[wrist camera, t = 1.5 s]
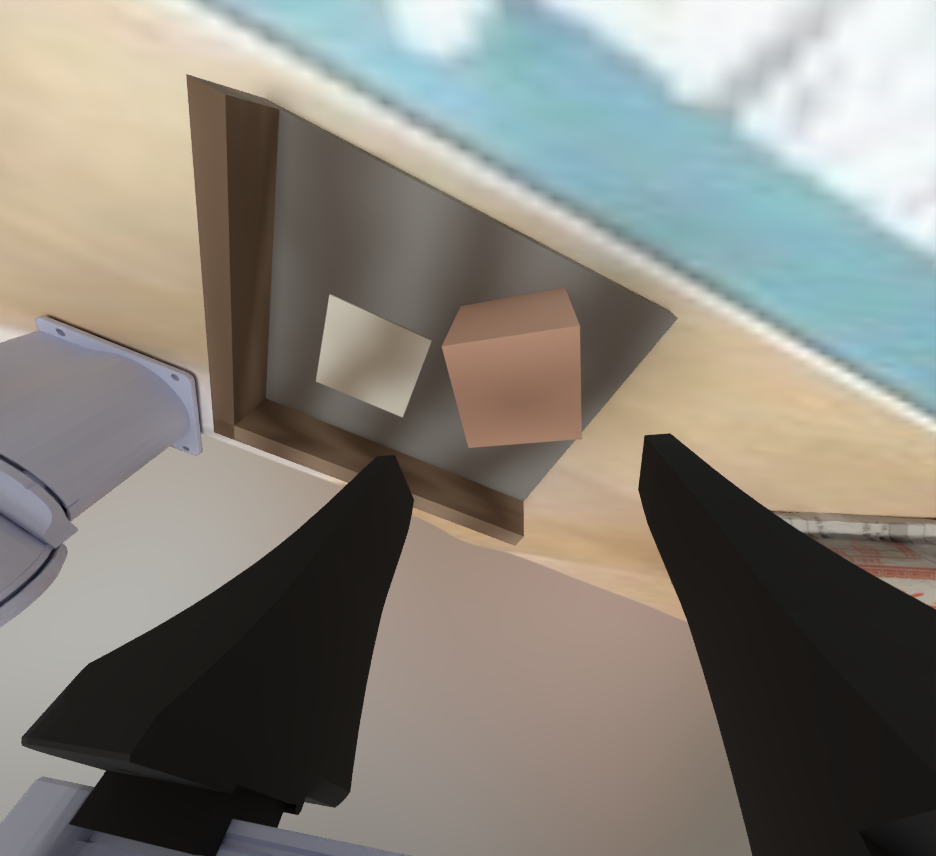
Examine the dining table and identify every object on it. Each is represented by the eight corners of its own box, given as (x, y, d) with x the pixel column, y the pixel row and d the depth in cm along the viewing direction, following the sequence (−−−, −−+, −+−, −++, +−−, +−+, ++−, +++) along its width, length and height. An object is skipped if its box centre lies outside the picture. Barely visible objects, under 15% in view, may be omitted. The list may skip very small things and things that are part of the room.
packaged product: (686, 636, 26) (735, 562, 20) (665, 577, 30) (701, 502, 24) (967, 663, 24) (1115, 587, 18) (904, 595, 27) (1009, 514, 22)
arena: (256, 397, 23) (214, 432, 20) (264, 98, 14) (186, 74, 11) (515, 500, 26) (514, 545, 23) (670, 311, 17) (705, 343, 13)
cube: (479, 392, 20) (468, 448, 16) (460, 306, 17) (441, 346, 13) (568, 382, 18) (581, 438, 14) (565, 287, 16) (580, 325, 12)
